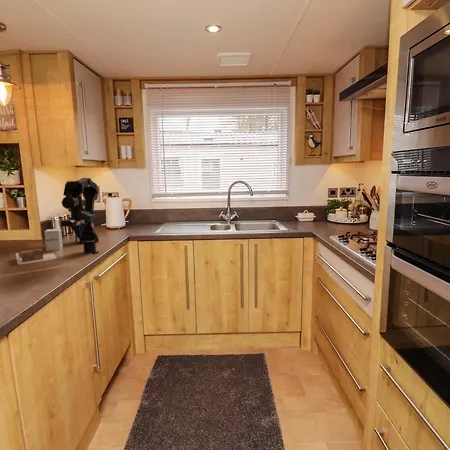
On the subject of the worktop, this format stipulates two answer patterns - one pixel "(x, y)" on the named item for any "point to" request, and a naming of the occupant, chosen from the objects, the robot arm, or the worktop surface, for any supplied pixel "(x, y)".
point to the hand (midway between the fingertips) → (79, 237)
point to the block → (31, 255)
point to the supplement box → (53, 239)
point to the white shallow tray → (45, 257)
